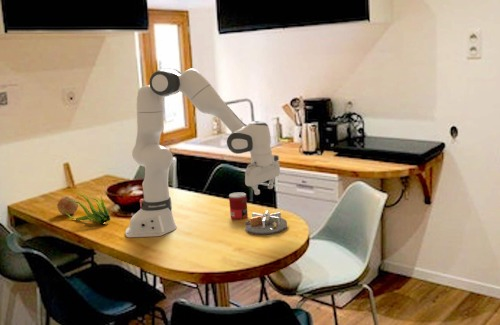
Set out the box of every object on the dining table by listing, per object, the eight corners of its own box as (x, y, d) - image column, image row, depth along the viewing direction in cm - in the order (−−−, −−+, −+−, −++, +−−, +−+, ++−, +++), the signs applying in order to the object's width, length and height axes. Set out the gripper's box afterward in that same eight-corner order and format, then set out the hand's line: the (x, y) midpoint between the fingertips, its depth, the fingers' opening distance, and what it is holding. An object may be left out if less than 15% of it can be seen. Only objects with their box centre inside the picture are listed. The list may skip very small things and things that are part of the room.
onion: (58, 213, 270) (55, 195, 268) (78, 210, 273) (75, 191, 271) (59, 219, 261) (56, 199, 259) (79, 215, 264) (77, 196, 262)
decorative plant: (95, 210, 273) (91, 182, 269) (112, 224, 247) (108, 194, 244) (59, 217, 264) (55, 189, 260) (73, 233, 239) (68, 202, 235)
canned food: (246, 219, 239) (244, 196, 236) (229, 220, 240) (227, 197, 238) (249, 214, 246) (247, 191, 243) (232, 214, 247) (230, 192, 245)
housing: (247, 237, 217) (247, 227, 216) (243, 223, 234) (242, 213, 233) (290, 232, 219) (290, 222, 218) (283, 218, 236) (282, 209, 235)
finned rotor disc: (256, 230, 218) (255, 222, 217) (245, 221, 229) (244, 214, 229) (286, 223, 223) (286, 216, 222) (274, 215, 234) (274, 208, 233)
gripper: (252, 166, 210) (254, 198, 213) (281, 155, 226) (283, 186, 229) (240, 164, 214) (242, 197, 217) (269, 154, 229) (271, 184, 233)
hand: (264, 191), depth 223 cm, fingers open, 8 cm apart
